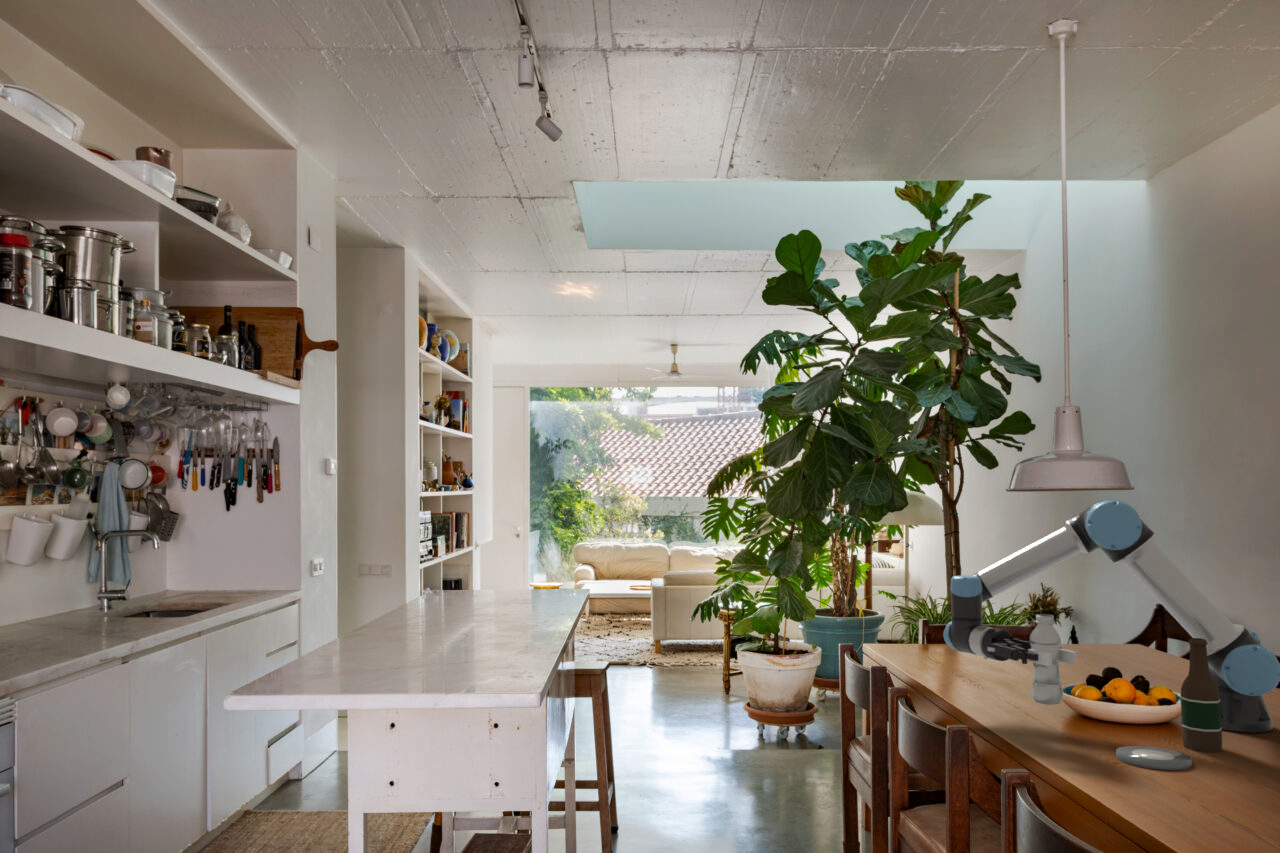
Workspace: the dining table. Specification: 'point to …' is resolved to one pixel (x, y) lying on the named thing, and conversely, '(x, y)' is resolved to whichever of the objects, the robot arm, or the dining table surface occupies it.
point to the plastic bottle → (1044, 676)
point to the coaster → (1153, 758)
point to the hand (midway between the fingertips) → (1062, 658)
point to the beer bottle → (1200, 703)
